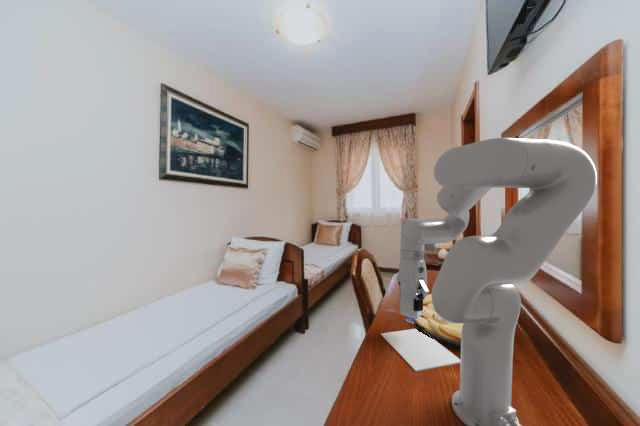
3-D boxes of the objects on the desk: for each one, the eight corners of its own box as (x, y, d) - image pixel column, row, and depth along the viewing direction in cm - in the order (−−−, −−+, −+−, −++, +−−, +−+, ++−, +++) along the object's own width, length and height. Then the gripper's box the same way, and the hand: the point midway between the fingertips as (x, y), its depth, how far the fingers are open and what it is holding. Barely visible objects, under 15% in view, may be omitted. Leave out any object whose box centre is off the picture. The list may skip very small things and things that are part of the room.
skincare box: (421, 315, 84) (422, 281, 83) (417, 319, 81) (417, 284, 80) (404, 310, 88) (405, 277, 87) (399, 314, 85) (400, 280, 84)
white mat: (462, 362, 73) (462, 361, 73) (415, 371, 69) (415, 370, 69) (419, 329, 92) (419, 328, 92) (380, 334, 88) (380, 333, 88)
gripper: (439, 260, 76) (438, 316, 77) (406, 249, 93) (405, 295, 94) (418, 261, 74) (417, 318, 75) (388, 250, 91) (387, 297, 92)
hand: (410, 305), depth 84 cm, fingers closed on skincare box, 7 cm apart
